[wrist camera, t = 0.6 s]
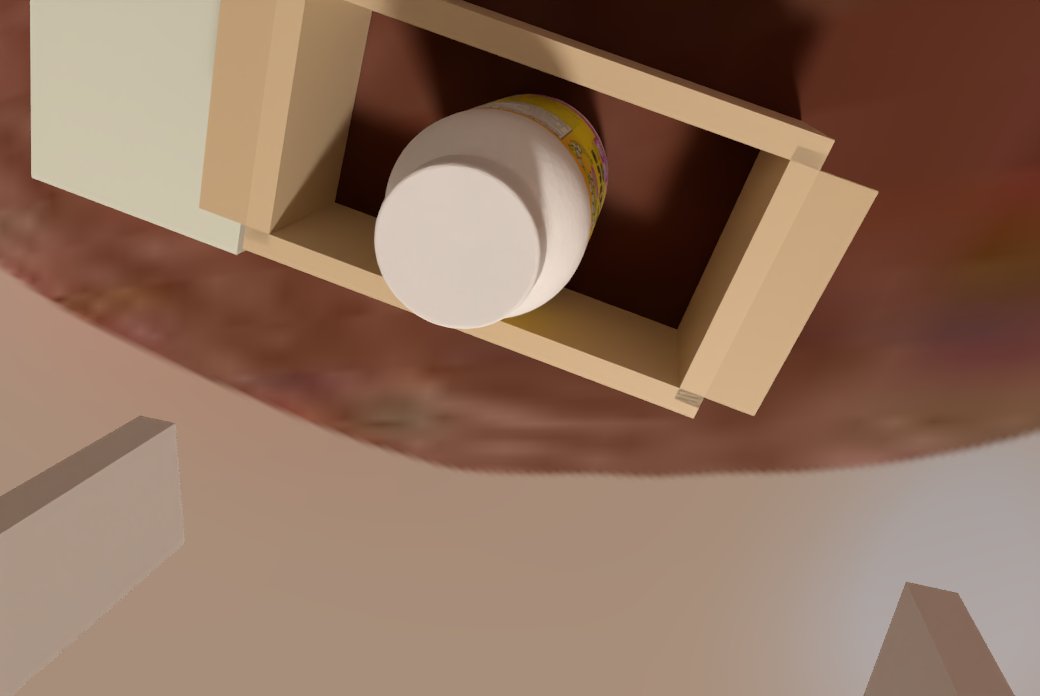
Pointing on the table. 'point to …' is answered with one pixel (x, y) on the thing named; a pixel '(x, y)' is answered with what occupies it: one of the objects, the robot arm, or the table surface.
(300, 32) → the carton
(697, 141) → the table surface
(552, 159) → the supplement bottle
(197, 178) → the plate
